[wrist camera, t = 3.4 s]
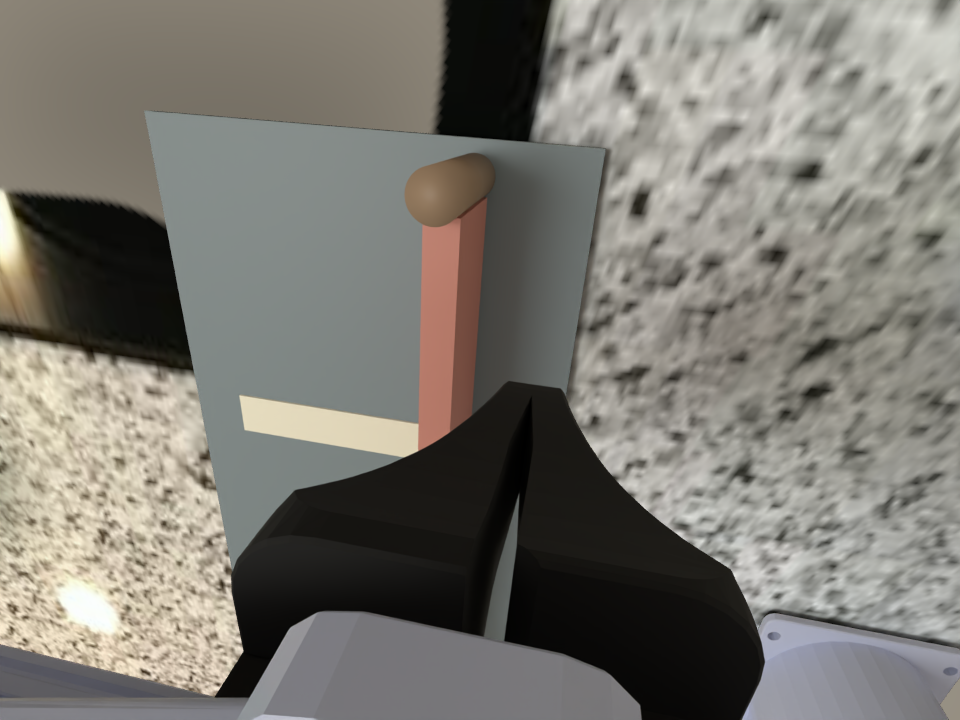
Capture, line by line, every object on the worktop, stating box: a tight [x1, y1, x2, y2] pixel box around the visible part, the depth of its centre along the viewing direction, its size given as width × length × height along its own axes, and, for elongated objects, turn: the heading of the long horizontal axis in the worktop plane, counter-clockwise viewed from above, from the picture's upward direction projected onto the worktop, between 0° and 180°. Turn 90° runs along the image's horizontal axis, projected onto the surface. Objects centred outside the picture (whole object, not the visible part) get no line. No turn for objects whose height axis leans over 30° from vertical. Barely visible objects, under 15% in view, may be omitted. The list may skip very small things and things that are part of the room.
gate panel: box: [404, 153, 495, 451], centre depth 16 cm, size 10×1×5 cm, turn 176°
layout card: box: [144, 111, 606, 641], centre depth 22 cm, size 24×16×1 cm, turn 176°
